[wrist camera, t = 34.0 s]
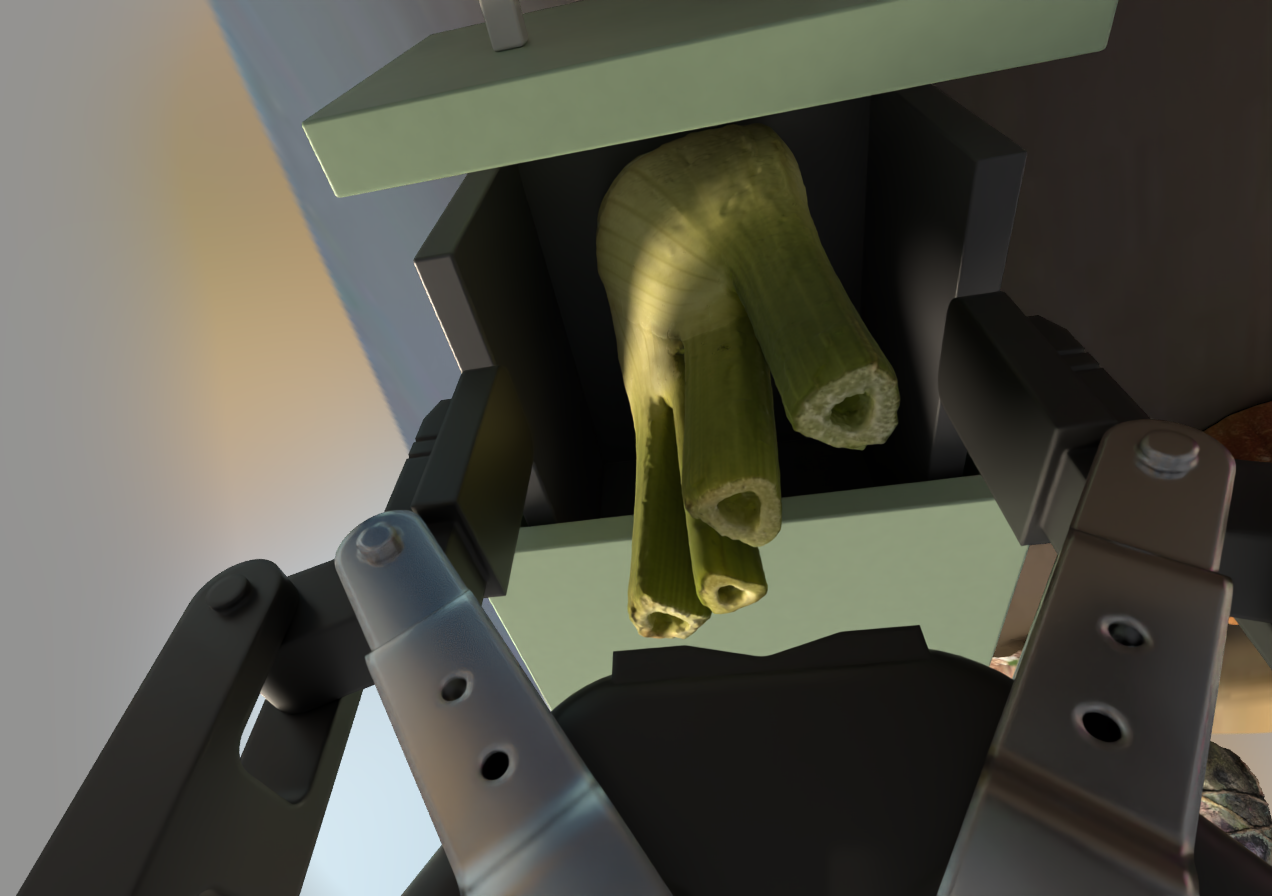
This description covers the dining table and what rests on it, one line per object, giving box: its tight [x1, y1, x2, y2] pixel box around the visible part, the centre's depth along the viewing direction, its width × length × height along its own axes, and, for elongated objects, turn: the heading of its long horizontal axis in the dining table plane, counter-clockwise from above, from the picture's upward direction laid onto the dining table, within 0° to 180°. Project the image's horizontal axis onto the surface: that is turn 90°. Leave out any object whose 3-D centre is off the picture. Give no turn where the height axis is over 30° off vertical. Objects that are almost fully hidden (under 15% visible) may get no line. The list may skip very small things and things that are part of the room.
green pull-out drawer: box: [302, 0, 1118, 527], centre depth 15 cm, size 20×12×8 cm, turn 11°
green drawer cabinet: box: [489, 451, 1029, 711], centre depth 23 cm, size 16×13×10 cm
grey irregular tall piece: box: [989, 650, 1272, 866], centre depth 28 cm, size 8×11×20 cm
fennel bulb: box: [596, 123, 900, 639], centre depth 13 cm, size 6×5×12 cm
